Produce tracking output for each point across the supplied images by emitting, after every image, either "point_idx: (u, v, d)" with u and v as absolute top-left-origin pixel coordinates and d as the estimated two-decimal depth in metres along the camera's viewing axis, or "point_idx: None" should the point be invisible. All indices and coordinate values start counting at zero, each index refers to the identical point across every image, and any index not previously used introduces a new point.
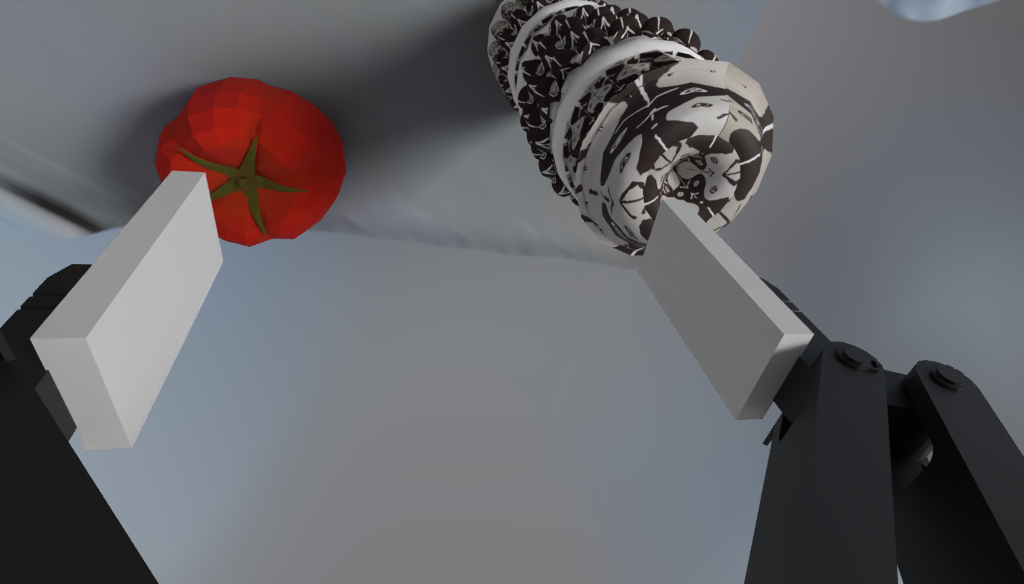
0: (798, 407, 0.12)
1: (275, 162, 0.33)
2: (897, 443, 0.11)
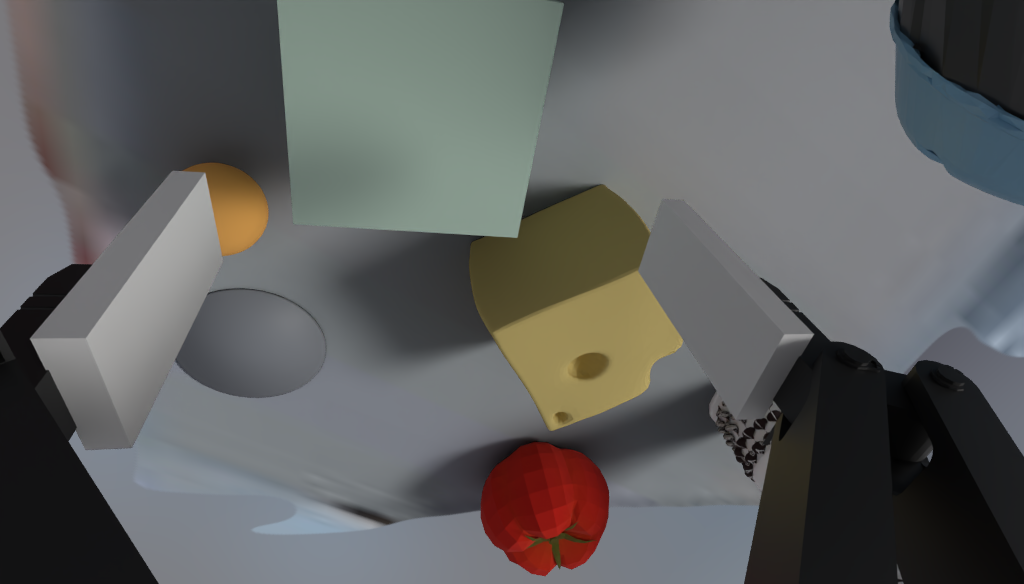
0: (798, 407, 0.12)
1: (584, 532, 0.44)
2: (897, 444, 0.11)
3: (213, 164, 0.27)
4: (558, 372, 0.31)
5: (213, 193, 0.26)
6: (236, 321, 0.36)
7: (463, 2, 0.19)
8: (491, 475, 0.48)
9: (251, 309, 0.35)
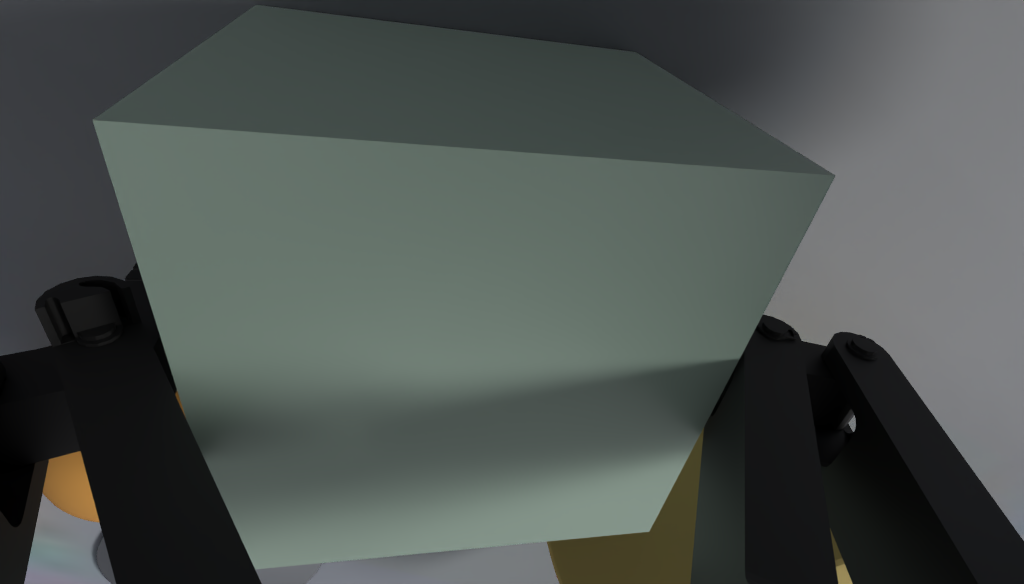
0: None
1: None
2: (816, 412, 0.12)
3: None
4: None
5: None
6: None
7: (603, 192, 0.08)
8: None
9: None
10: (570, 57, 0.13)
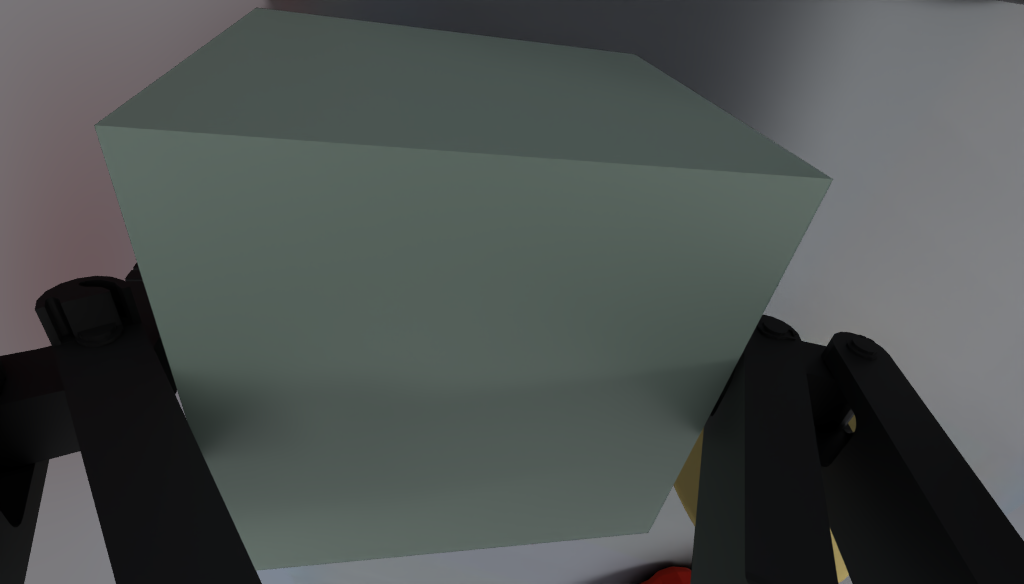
0: None
1: None
2: (815, 412, 0.12)
3: None
4: None
5: None
6: None
7: (601, 196, 0.08)
8: None
9: None
10: (569, 60, 0.13)
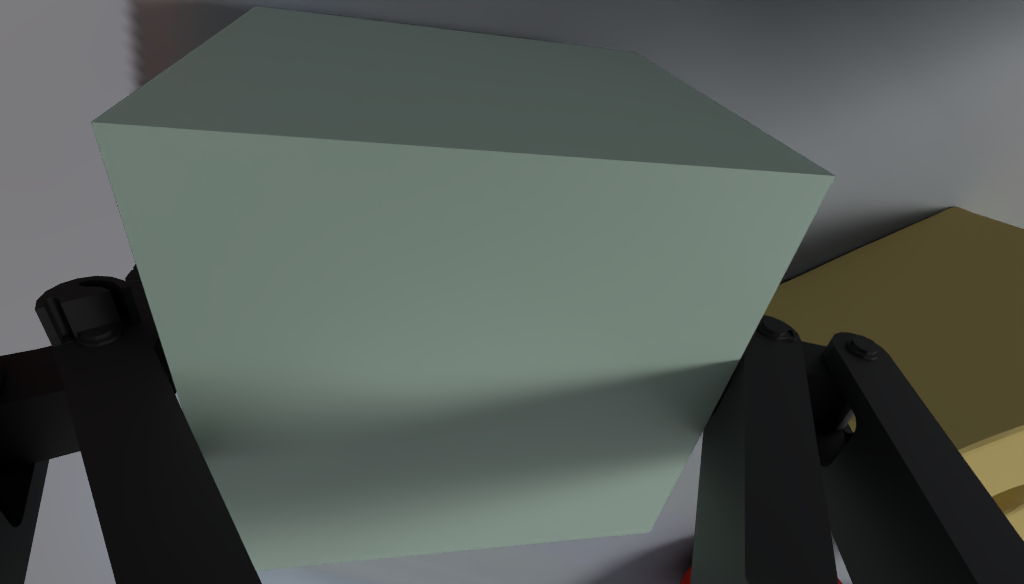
0: None
1: None
2: (816, 412, 0.12)
3: None
4: None
5: None
6: None
7: (602, 193, 0.08)
8: None
9: None
10: (570, 57, 0.13)
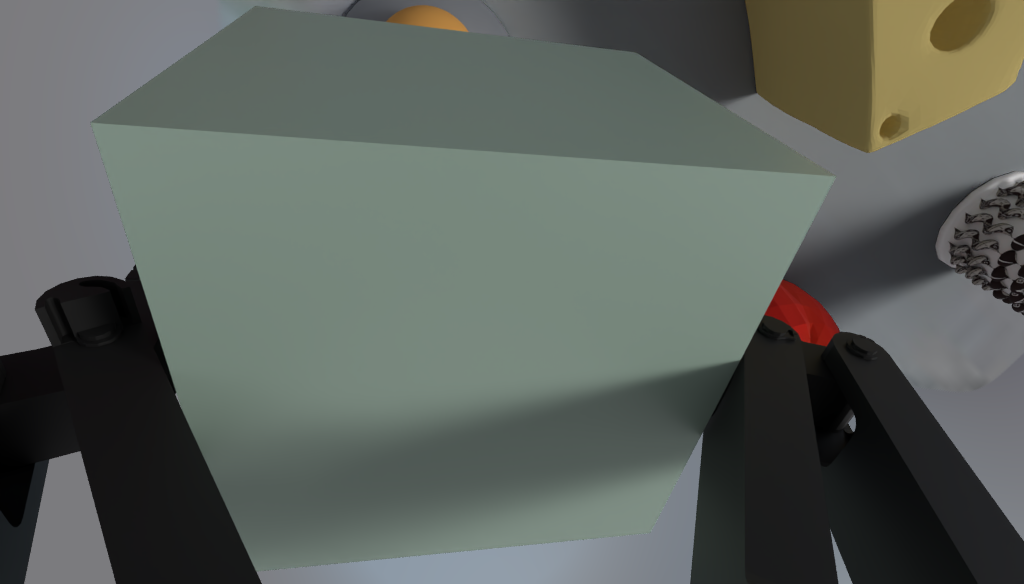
0: None
1: None
2: (816, 412, 0.12)
3: None
4: (924, 27, 0.21)
5: None
6: None
7: (603, 194, 0.08)
8: None
9: None
10: (570, 58, 0.13)
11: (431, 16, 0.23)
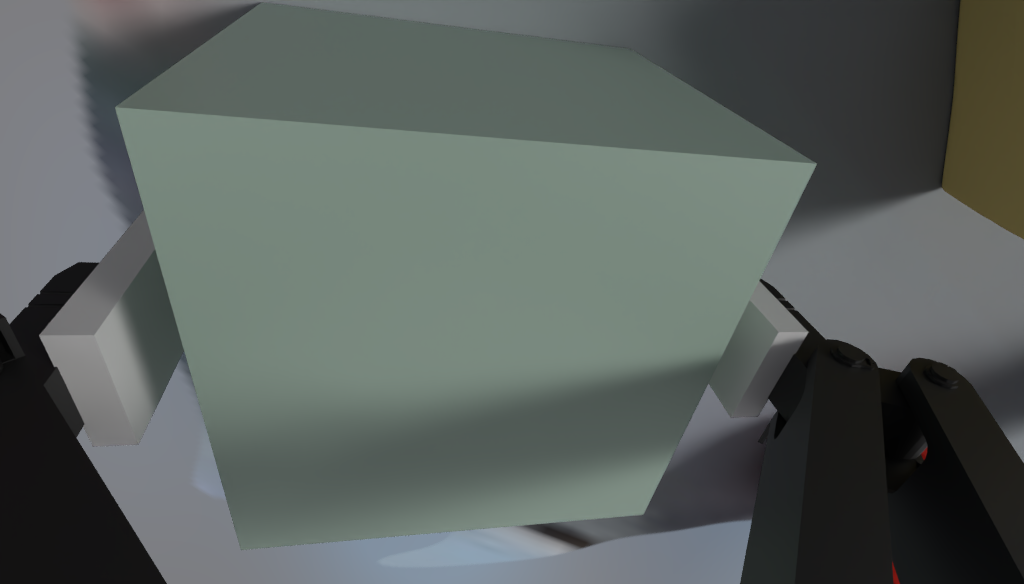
0: (793, 405, 0.12)
1: None
2: (891, 441, 0.11)
3: None
4: None
5: None
6: None
7: (595, 179, 0.08)
8: None
9: None
10: (566, 53, 0.14)
11: None
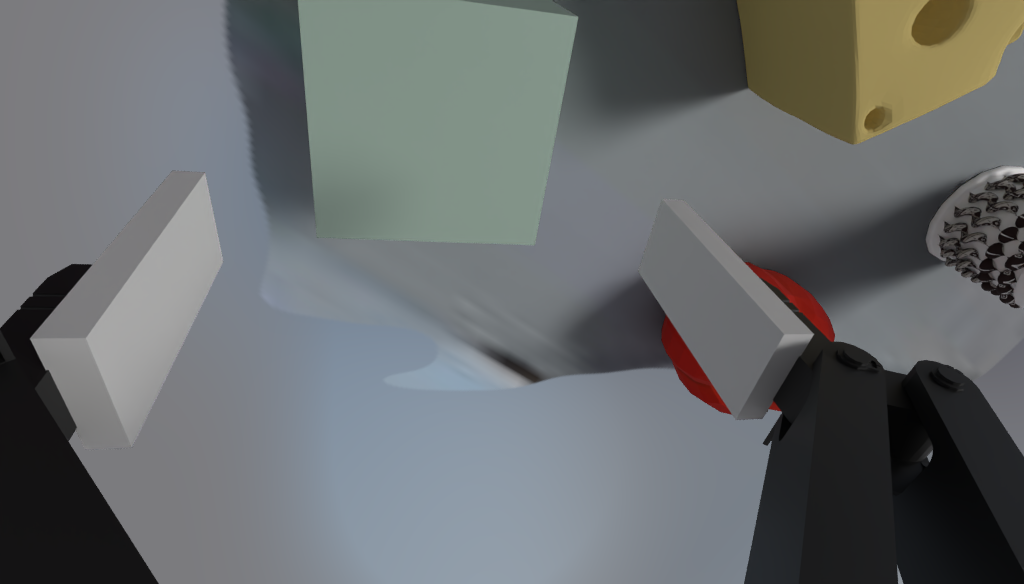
0: (798, 407, 0.12)
1: None
2: (897, 444, 0.11)
3: None
4: (905, 22, 0.22)
5: None
6: None
7: (479, 19, 0.20)
8: None
9: None
10: None
11: None
